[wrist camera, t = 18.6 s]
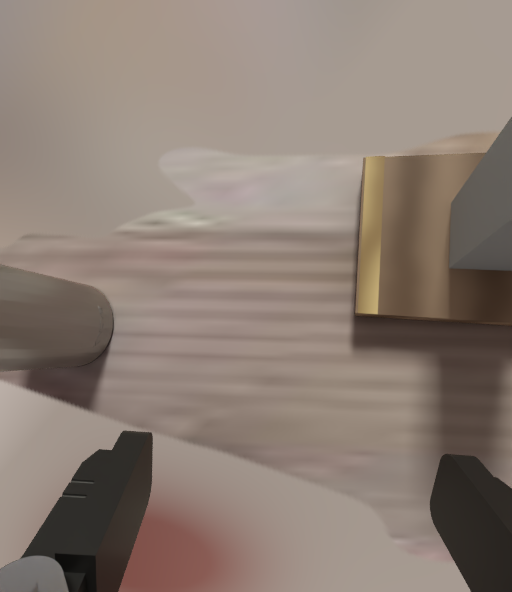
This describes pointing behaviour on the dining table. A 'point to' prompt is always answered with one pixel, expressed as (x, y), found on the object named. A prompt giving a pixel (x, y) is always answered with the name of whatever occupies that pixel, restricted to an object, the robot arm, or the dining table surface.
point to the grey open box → (485, 212)
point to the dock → (421, 245)
